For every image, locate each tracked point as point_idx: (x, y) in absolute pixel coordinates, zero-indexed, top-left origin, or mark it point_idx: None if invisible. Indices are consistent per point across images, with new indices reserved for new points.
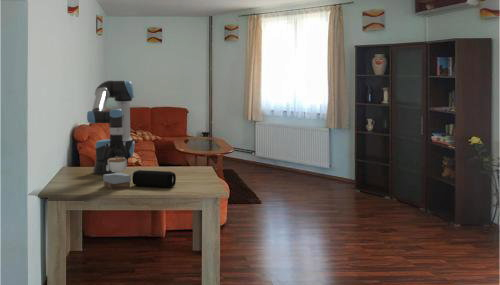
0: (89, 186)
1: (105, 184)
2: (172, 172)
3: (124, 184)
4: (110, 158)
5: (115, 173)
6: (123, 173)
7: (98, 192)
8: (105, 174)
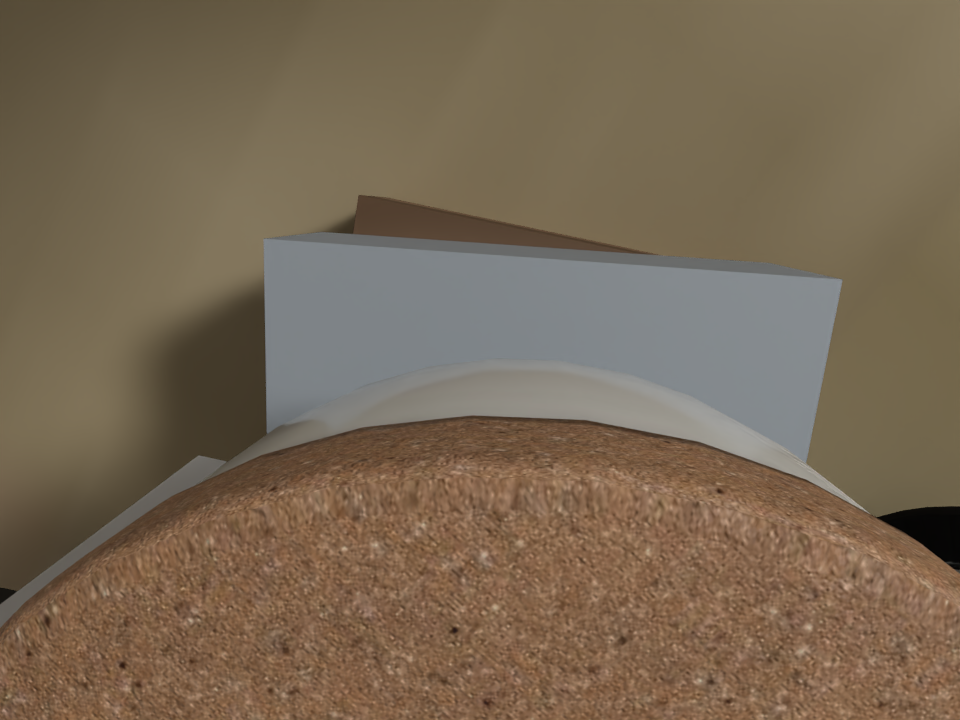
0: (154, 29)
1: None
2: None
3: None
4: (225, 682)
5: (633, 304)
6: (799, 452)
7: None
8: (322, 257)
